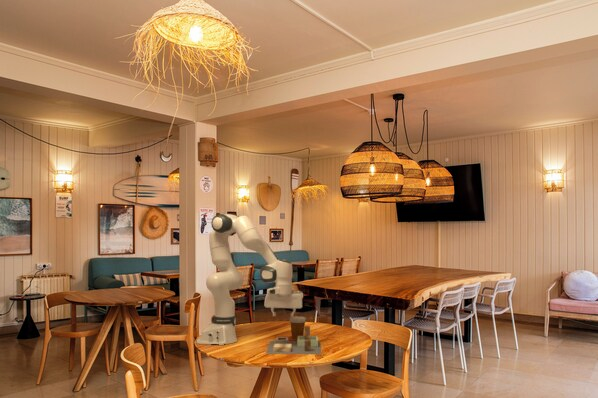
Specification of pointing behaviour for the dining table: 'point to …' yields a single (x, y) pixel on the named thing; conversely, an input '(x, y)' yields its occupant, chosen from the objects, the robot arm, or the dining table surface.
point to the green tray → (302, 341)
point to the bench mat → (294, 349)
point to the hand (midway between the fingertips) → (283, 316)
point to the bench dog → (307, 345)
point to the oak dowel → (307, 332)
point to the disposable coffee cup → (297, 326)
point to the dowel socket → (281, 340)
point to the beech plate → (282, 348)
